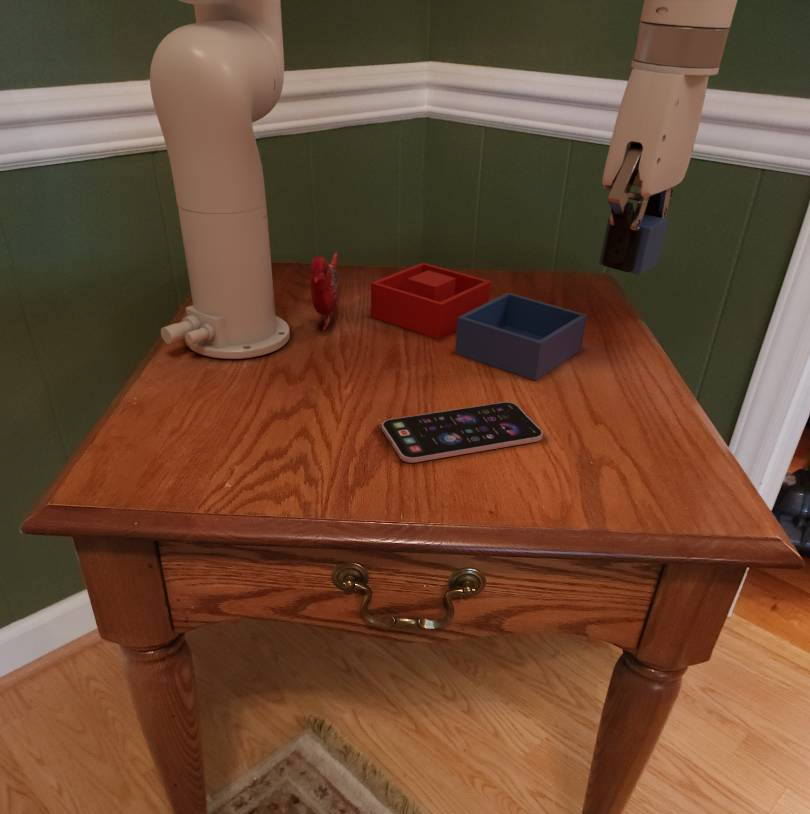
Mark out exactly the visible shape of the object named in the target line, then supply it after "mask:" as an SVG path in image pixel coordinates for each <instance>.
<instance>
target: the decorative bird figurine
mask: <svg viewBox="0 0 810 814" xmlns="http://www.w3.org/2000/svg"><path fill="white" fill-rule="evenodd" d="M338 255H339V251H338V250H335V251H334V253H333V256H332V259H331V261H330V263H329V262H328V260H327V259H326V258H325V257H323V256H320V255H316V256H314V257H313V258H312V261H311V264H310V269H309V281H310V282H309V283H310V297H311V303H312V305H313V308H314V310H315V311H316V312H317V313H318V314H319V315H321V316H324V322H323V324H322V326H323V329H322V332H324V331H325V330H326V329H327V328H328V327H329V324H330V320H331V319H330V317H331V314H332V313H333V311H334V310H335V308H336V305H337V301H338V296H339V273H338V270H337V266H338Z"/></svg>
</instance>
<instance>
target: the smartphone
mask: <svg viewBox="0 0 810 814" xmlns="http://www.w3.org/2000/svg"><path fill="white" fill-rule="evenodd" d="M381 431H382V433H383V434H384V436H385V437H386V439H387V441H389V443H390V445H391V446H392V448H393V450H394V451H395V453H396V454H397V456H398V457H399V459H400V460H401V461H403V462H405V463H410V464H411V463H420V462H426V461H431V460H437V459H443V458H449V457H454V456H461V455H466V454H473V453H478V452H483V451H484V452H485V451H490V450H495V449H500V448H501V449H503V448H507V447H512V446H518V445H519V446H520V445H525V444H532V443H536V442H540V441H541V440H542V439H543V436H544V435H543V433H544V432H543V430H542V428H540V427H539V426H538V425H537V424H536V423H535V421H533V420H532V418H530V416H528V414H527V413H526V412H525V411H523V409H522V408H521V407H520V406H519V405H518V404H516V403H514V402H511V401H500V402H495V403H488V404H487V403H486V404H482V405H475V406H468V407H467V406H466V407H462V408H456V409H454V408H453V409H448V410H442V411H436V412H435V411H434V412H429V413H423V414H422V413H421V414H416V415H415V414H414V415H409V416H402V417H398V418H397V417H396V418H389V419H386V420H384V421H383V422H382V423H381Z"/></svg>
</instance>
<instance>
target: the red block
mask: <svg viewBox="0 0 810 814" xmlns="http://www.w3.org/2000/svg"><path fill="white" fill-rule="evenodd" d="M455 280H456V278H454V277H450V276H447V275H443V274H439V273H436V272H432V271H429V270H428V271H425V272H423V273H420V274H418V275H415V276H413V277H410V278H408V279H407V292H409V293H412V294H415V295H418V296H422V297H425V298H428V299H431V300H435V301H438V302H442V301H444V300H446V299H448V298H450V297H453V296H454V294H455Z"/></svg>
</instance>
